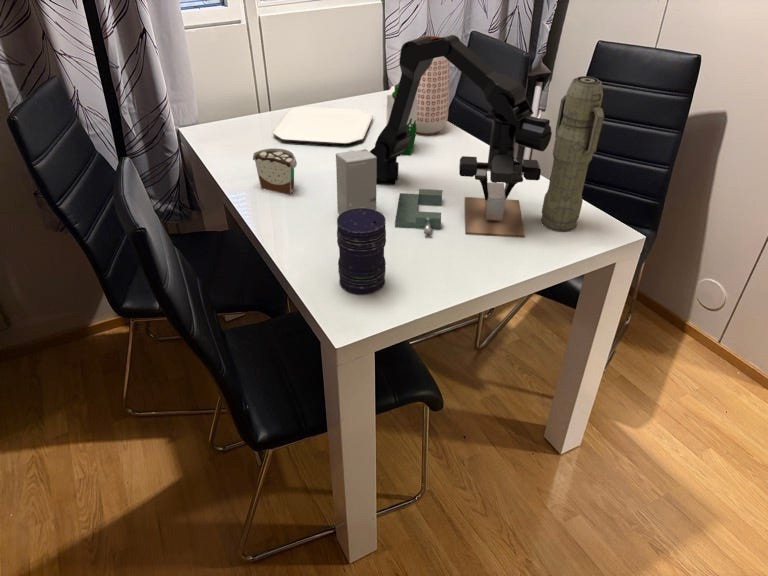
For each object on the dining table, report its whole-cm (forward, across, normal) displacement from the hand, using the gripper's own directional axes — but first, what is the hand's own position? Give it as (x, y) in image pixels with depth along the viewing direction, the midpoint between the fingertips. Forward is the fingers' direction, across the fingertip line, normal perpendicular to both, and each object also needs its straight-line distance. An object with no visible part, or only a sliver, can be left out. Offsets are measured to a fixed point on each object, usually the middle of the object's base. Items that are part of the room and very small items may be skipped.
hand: (494, 200), depth 150 cm
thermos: (+5, +16, -1) cm, 17 cm away
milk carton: (+5, -26, +39) cm, 47 cm away
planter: (+5, -19, +56) cm, 59 cm away
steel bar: (+3, 0, 0) cm, 3 cm away
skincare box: (+5, -34, -2) cm, 34 cm away
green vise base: (+5, -18, -2) cm, 19 cm away
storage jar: (+5, -29, -31) cm, 43 cm away
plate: (+6, -52, +53) cm, 74 cm away
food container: (+5, -56, +10) cm, 57 cm away
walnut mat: (+5, 0, 0) cm, 5 cm away
